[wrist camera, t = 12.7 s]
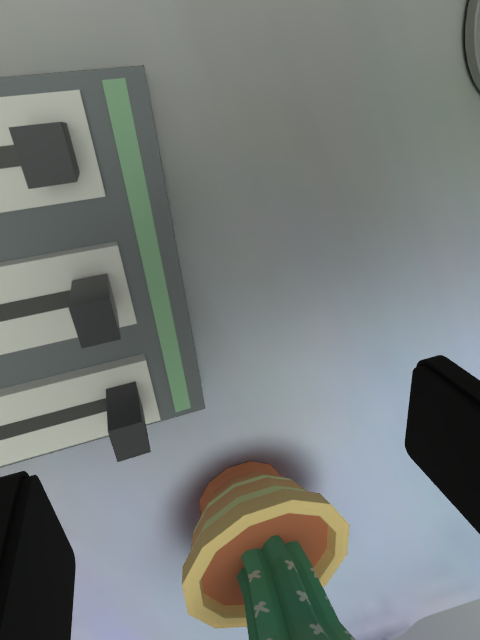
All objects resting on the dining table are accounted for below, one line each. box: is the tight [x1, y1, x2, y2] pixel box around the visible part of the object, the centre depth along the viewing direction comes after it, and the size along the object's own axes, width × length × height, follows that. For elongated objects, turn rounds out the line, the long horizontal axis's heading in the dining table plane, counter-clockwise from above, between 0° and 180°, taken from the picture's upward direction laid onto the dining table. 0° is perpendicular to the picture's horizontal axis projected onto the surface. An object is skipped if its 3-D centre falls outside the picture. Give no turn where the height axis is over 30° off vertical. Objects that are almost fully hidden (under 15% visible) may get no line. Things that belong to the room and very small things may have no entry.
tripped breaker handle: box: [68, 274, 121, 349], centre depth 22 cm, size 2×2×4 cm
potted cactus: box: [182, 461, 355, 640], centre depth 31 cm, size 15×15×25 cm
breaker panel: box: [0, 65, 205, 468], centre depth 23 cm, size 23×19×8 cm
